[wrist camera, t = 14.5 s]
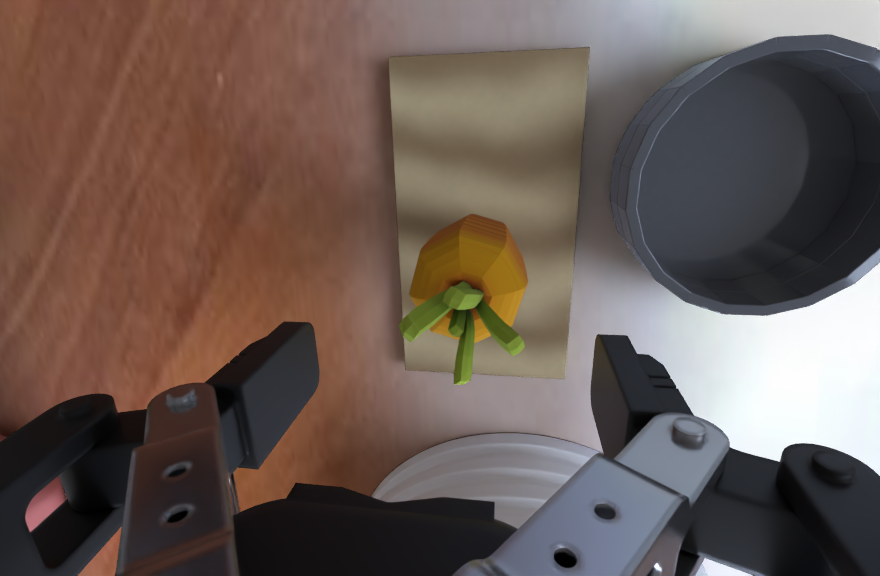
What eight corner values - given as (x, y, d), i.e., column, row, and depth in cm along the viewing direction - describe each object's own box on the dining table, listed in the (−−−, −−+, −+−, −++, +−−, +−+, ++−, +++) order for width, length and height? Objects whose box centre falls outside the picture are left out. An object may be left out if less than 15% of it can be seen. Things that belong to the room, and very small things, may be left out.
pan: (622, 56, 25) (643, 43, 21) (897, 44, 23) (980, 26, 19) (600, 284, 30) (614, 310, 25) (829, 290, 28) (885, 320, 23)
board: (393, 59, 27) (387, 56, 26) (587, 50, 25) (590, 46, 24) (408, 362, 34) (405, 370, 33) (563, 370, 32) (565, 379, 31)
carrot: (541, 228, 28) (567, 332, 14) (488, 286, 30) (464, 433, 16) (477, 175, 27) (437, 229, 13) (427, 238, 29) (346, 344, 15)
